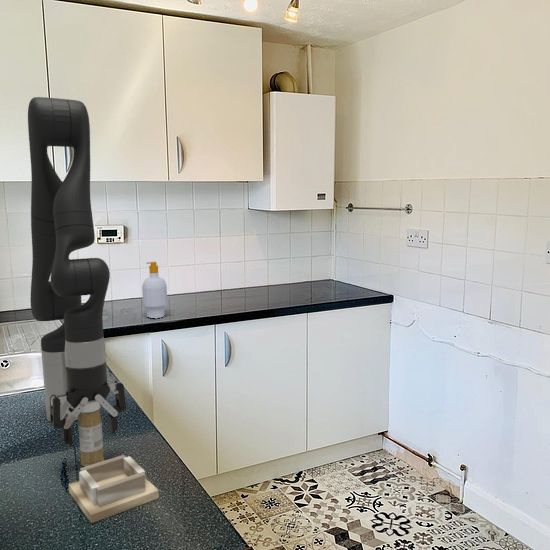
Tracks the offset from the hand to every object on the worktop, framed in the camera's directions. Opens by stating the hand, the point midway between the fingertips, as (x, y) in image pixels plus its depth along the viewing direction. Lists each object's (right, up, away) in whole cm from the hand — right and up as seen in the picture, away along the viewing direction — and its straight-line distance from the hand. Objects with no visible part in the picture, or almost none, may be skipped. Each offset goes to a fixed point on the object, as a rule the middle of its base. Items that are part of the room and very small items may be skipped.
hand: (90, 438), depth 108 cm
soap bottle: (-15, +14, +126) cm, 128 cm away
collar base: (+8, -7, -11) cm, 15 cm away
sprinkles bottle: (0, -5, +1) cm, 5 cm away
